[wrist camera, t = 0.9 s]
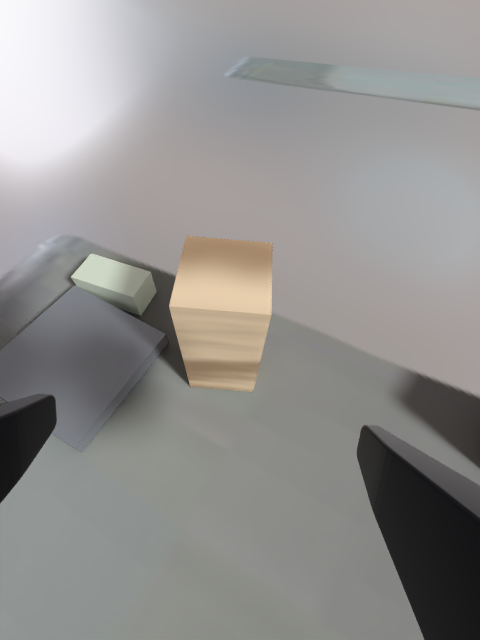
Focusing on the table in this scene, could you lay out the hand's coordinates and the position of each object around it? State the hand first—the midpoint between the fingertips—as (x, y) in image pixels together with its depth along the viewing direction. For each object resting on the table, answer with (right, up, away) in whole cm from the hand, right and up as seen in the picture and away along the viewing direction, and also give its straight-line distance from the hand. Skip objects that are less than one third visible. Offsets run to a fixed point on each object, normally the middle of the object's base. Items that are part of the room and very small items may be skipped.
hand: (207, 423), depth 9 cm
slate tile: (-12, 0, +16) cm, 20 cm away
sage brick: (-10, +5, +20) cm, 23 cm away
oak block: (0, 0, +16) cm, 16 cm away
